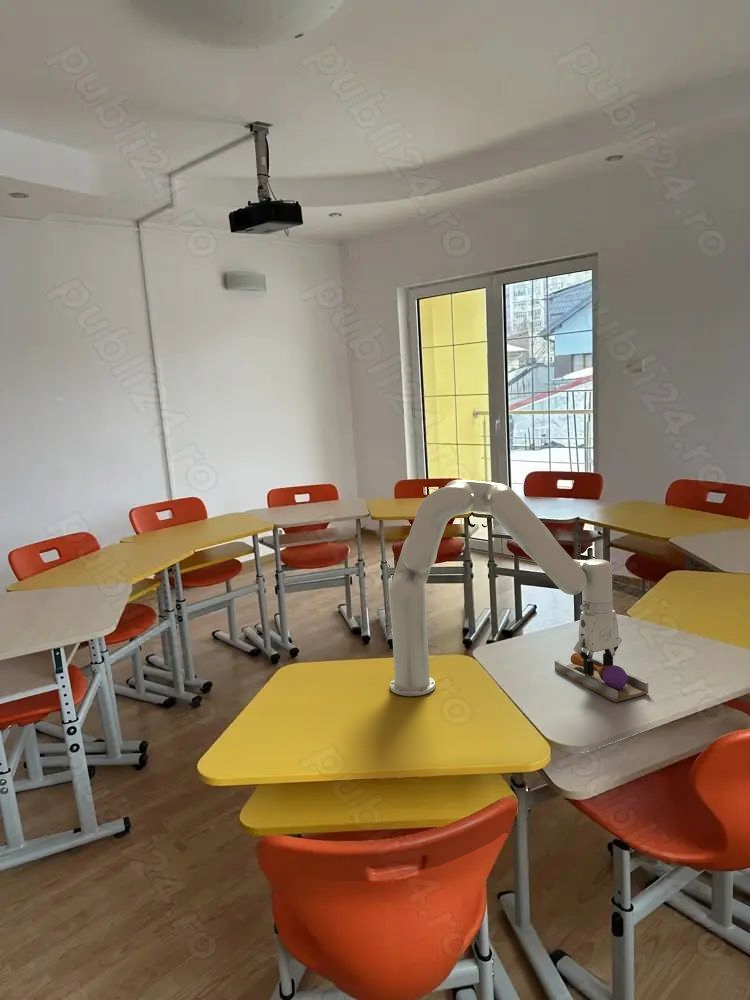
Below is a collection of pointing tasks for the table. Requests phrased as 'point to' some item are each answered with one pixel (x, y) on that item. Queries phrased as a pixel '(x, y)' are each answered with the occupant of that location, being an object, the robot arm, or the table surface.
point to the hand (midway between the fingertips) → (598, 671)
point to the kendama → (605, 673)
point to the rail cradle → (596, 684)
